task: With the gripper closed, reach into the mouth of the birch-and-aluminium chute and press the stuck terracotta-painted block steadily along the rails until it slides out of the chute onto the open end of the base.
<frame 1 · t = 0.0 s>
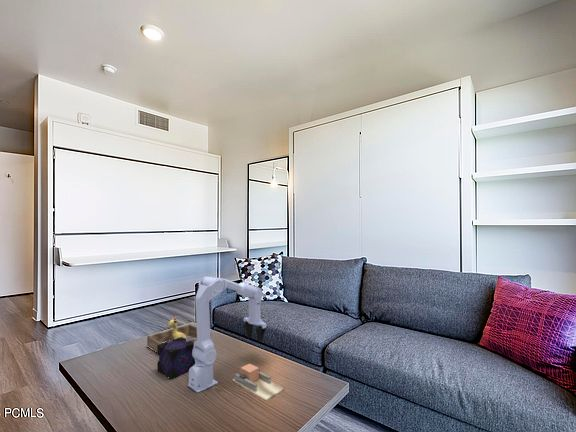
hand: (254, 339, 145), 10 cm above the table, fingers open, 7 cm apart
chute: (257, 385, 123), on the table
energy cube: (176, 370, 137), on the table
block: (249, 373, 127), point 3 cm above the table, slide at 0.0 cm
stuffed giraffe: (179, 345, 163), resting in display tray
display tray: (179, 345, 163), on the table
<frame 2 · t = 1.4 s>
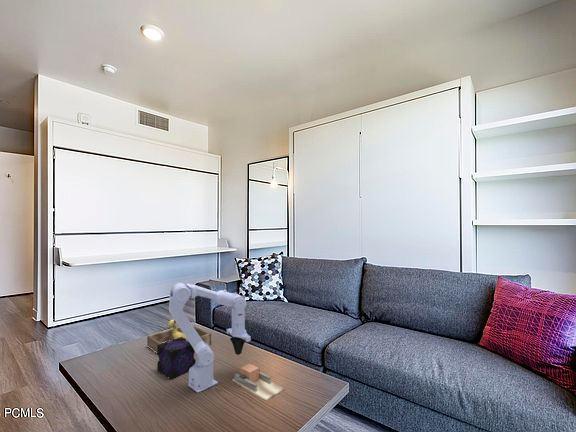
hand: (238, 353, 132), 9 cm above the table, fingers closed
nothing on the table moved.
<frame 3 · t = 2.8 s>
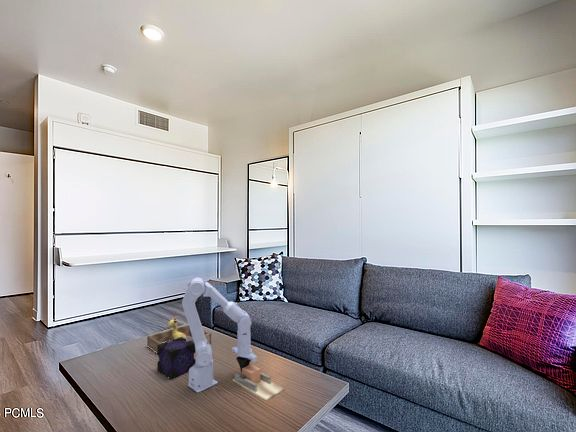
hand: (244, 373, 129), 2 cm above the table, fingers closed
block: (251, 374, 126), point 3 cm above the table, slide at 1.1 cm, touching gripper
everything else where it was.
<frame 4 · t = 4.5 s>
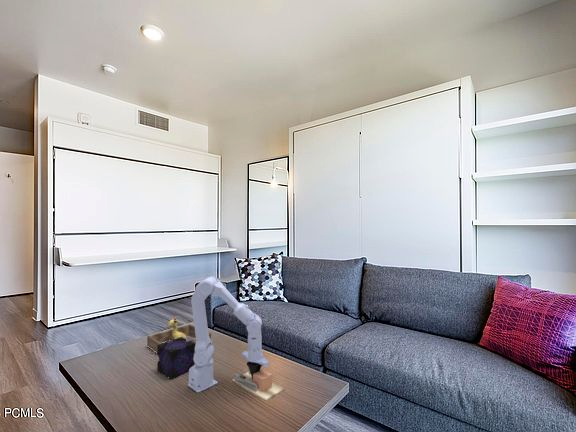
hand: (255, 379, 124), 2 cm above the table, fingers closed
block: (262, 380, 121), point 3 cm above the table, slide at 8.1 cm, touching gripper
everything else where it was.
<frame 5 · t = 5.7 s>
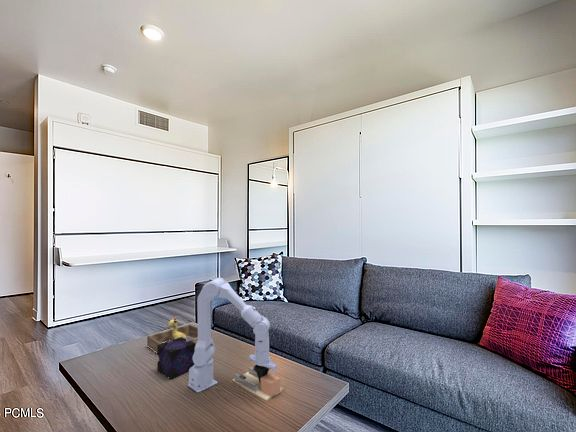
hand: (262, 383, 121), 2 cm above the table, fingers closed
block: (270, 384, 118), point 3 cm above the table, slide at 12.6 cm, touching gripper
everything else where it was.
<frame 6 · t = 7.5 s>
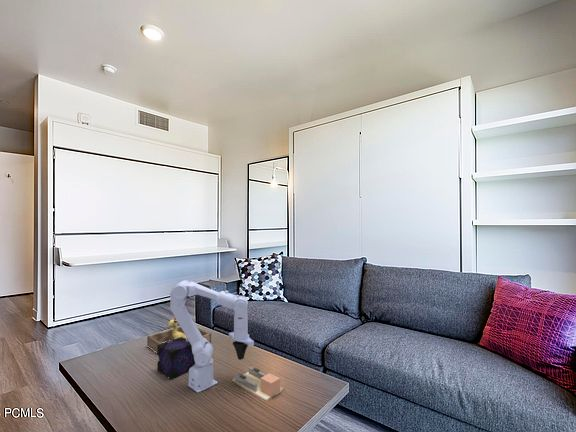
hand: (240, 358, 126), 10 cm above the table, fingers closed
block: (270, 384, 118), point 3 cm above the table, slide at 12.6 cm
everything else where it was.
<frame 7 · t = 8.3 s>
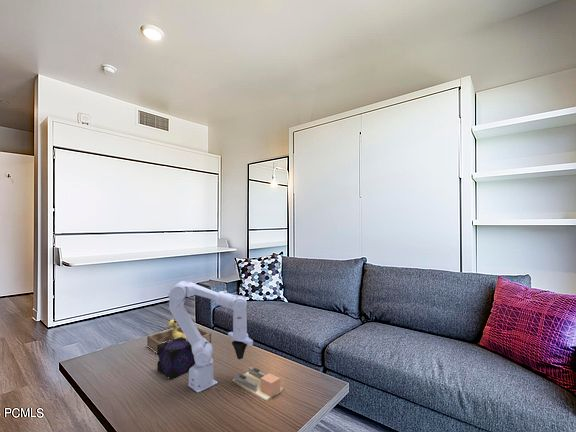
hand: (240, 358, 126), 10 cm above the table, fingers closed
nothing on the table moved.
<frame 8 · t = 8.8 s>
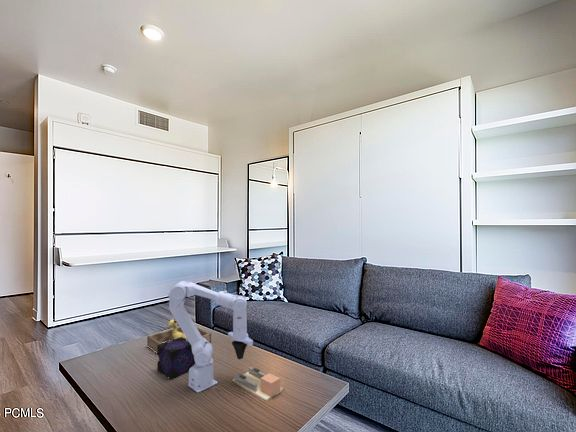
hand: (240, 358, 126), 10 cm above the table, fingers closed
nothing on the table moved.
at the end: block slide at 12.6 cm; block inside the target area (0.4 cm from its centre), resting on chute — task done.
